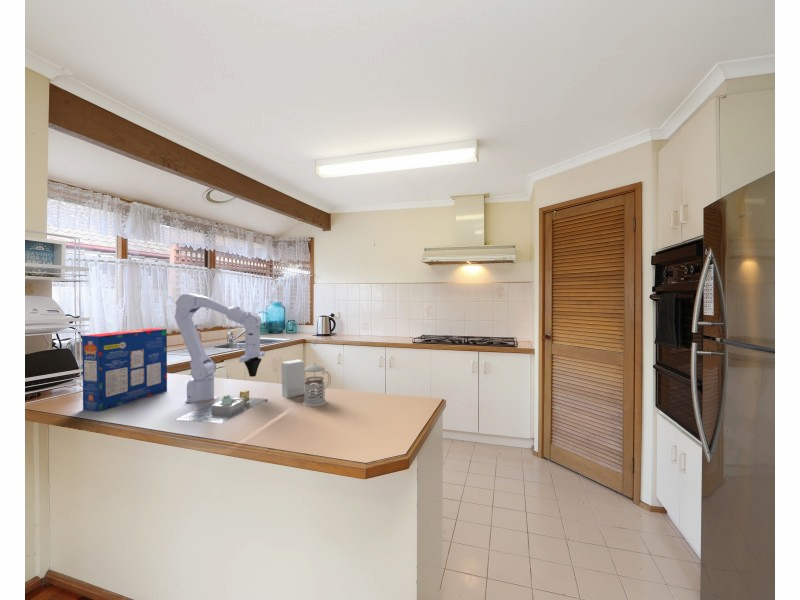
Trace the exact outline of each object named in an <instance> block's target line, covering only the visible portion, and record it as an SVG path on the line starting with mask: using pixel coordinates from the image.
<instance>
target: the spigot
mask: <svg viewBox="0 0 800 600" xmlns="http://www.w3.org/2000/svg"><path fill="white" fill-rule="evenodd" d="M221 399H222V405H231V397H230V394H224V395H223V397H222V398H221Z"/></svg>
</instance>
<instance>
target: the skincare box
mask: <svg viewBox="0 0 800 600" xmlns="http://www.w3.org/2000/svg"><path fill="white" fill-rule="evenodd" d="M304 369H305V361H303V359H299V358H298V359H292V360H286V361H281V395H282V396H283V397H285V398H286V399H289V398H294V397H298V396H303V395H305V370H304Z"/></svg>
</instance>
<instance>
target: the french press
mask: <svg viewBox="0 0 800 600" xmlns="http://www.w3.org/2000/svg"><path fill="white" fill-rule="evenodd" d="M317 344H318V342H317V340H313V341H312V344H311V345H317ZM325 369H326V368H325V367H324V366H323V365H320V364H317V363H314V364H311V365H308V366H306V367H304V372H308V373H314V374H313V375H314V376H309V377H306V378H304V386H305V394H304V401H302V403H301V404H302V406H304V407H320V406H324V405H325V404H327V402H328V401H327V400H326V398H325V397H326V395H325V394H326V392H325V390H326V389H327V388H329V386H330V385H331V380H332V377H331V374H330V373H329V372H328V371H326V370H325ZM318 372H321V373H322V375H325V374H327V377H328V380H327V383H326V384H325V382H324V377H323V376H318V375H317V376H316V373H318Z"/></svg>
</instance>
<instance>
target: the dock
mask: <svg viewBox="0 0 800 600" xmlns="http://www.w3.org/2000/svg"><path fill="white" fill-rule="evenodd" d="M230 397H231V403H233V404H231V405H222V398H221V399H219V400H218V399H217V401H214V402H211V403H209V404H208V405H205V406H202V407H200V408H197V409H195V410H193V411H191V412H188V413H186V414H184V415H182V416H179V417H176V418H175V419H174V421H175V420H176V421H186V422H187V421H188V422H199V423H212V424H223V423H225V422H227V421H229V420H230V419H233V418H235V417H237V416H238V415H240V414H242V413H244V412H246V411H248V410H249V409H252V408H253V407H255V406H257V405H259V404H261V403H262V402H263V403H264V402H265V403H267V402H268V398H259V397H249V401H247V402H245V398H240V396H230ZM234 402H235V403H234Z"/></svg>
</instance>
